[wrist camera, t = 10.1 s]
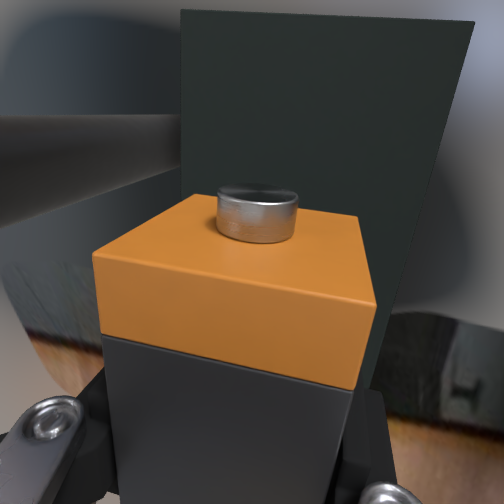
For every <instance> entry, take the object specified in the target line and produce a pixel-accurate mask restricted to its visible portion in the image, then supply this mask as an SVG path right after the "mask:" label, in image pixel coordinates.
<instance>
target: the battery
mask: <svg viewBox="0 0 504 504" xmlns="http://www.w3.org/2000/svg"><path fill="white" fill-rule="evenodd" d="M298 202H299V198H298V195H297V194H296V193H294V192H292V191H290V190H288V189H285V188H282V187H278V186H273V185H266V184H257V183H236V184H229V185H225V186H222V187H220V188H219V190H218V192H217V197H215V196H208V195H201V194H194V195H192V196H190V197H189V198H187V199H185V200H183V201H182V202H180V203H178V204H177V205H175V206H173V207H171V208H169V209H168V210H166V211H164V212H162V213H161V214H159V215H157V216H156V217H154V218H152V219H150V220H149V221H147V222H145V223H144V224H142V225H140V226H138V227H136V228H135V229H133V230H131V231H129V232H128V233H126V234H124V235H122V236H121V237H119V238H117V239H116V240H114V241H112V242H110V243H108V244H107V245H105V246H103V247H102V248H100V249H98V250H96V251H95V252H93V254H92V260H93V268H94V277H95V286H96V294H97V303H98V312H99V320H100V329H101V333H102V336H101V341H102V350H103V358H104V367H105V376H106V384H107V393H108V401H109V410H110V419H111V427H112V436H113V444H114V453H115V462H116V470H117V479H118V487H119V496H120V504H324V503H325V499H326V495H327V491H328V488H329V484H330V480H331V477H332V473H333V469H334V465H335V462H336V458H337V454H338V451H339V447H340V443H341V439H342V436H343V432H344V428H345V425H346V421H347V417H348V413H349V410H350V406H351V402H352V399H353V395H354V388H355V386H356V383H357V379H358V375H359V371H360V368H361V364H362V360H363V357H364V353H365V349H366V345H367V342H368V338H369V334H370V331H371V327H372V323H373V319H374V316H375V312H376V308H377V305H376V300H375V295H374V291H373V286H372V282H371V277H370V272H369V268H368V263H367V259H366V254H365V249H364V245H363V240H362V236H361V231H360V226H359V222H358V217H356V216H350V215H343V214H336V213H329V212H322V211H315V210H308V209H301V208H298Z"/></svg>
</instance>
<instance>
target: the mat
mask: <svg viewBox="0 0 504 504" xmlns="http://www.w3.org/2000/svg"><path fill="white" fill-rule="evenodd" d="M474 25H475V22H474V21H453V20H431V19H430V20H429V19H406V18H383V17H359V16H336V15H312V14H310V15H309V14H288V13H263V12H239V11H216V10H192V9H181V202H182V201H183V200H185V199H187V198H189V197H190V196H192V195H194V194H201V195H208V196H215V197H217V192H218V190H219V188H220V187H222V186H225V185H229V184H236V183H257V184H266V185H273V186H278V187H282V188H285V189H288V190H290V191H292V192H294V193H296V194H297V195H298V198H299V202H298V208H301V209H308V210H315V211H322V212H329V213H336V214H343V215H350V216H356V217H358V222H359V226H360V231H361V236H362V240H363V245H364V249H365V254H366V259H367V263H368V268H369V272H370V277H371V282H372V286H373V291H374V295H375V300H376V305H377V308H376V312H375V316H374V319H373V323H372V327H371V331H370V334H369V338H368V342H367V345H366V349H365V353H364V357H363V360H362V364H361V368H362V378H363V387H364V388H366V389H369V387H370V383H371V380H372V376H373V373H374V370H375V366H376V363H377V359H378V356H379V352H380V349H381V345H382V342H383V339H384V335H385V332H386V328H387V325H388V321H389V318H390V315H391V311H392V307H393V304H394V301H395V297H396V294H397V290H398V287H399V283H400V280H401V277H402V273H403V270H404V266H405V263H406V259H407V255H408V252H409V249H410V246H411V242H412V239H413V235H414V231H415V228H416V225H417V222H418V218H419V214H420V211H421V208H422V204H423V201H424V197H425V194H426V190H427V187H428V184H429V180H430V177H431V173H432V170H433V166H434V162H435V160H436V156H437V152H438V149H439V146H440V142H441V139H442V135H443V132H444V128H445V125H446V122H447V118H448V115H449V111H450V108H451V104H452V101H453V98H454V94H455V90H456V87H457V84H458V80H459V77H460V73H461V70H462V66H463V63H464V59H465V56H466V53H467V49H468V46H469V43H470V39H471V36H472V32H473V29H474Z"/></svg>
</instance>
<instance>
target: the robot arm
mask: <svg viewBox="0 0 504 504" xmlns="http://www.w3.org/2000/svg"><path fill="white" fill-rule="evenodd" d="M107 491H108V492H111V493H114V494H117V495H119V487H118V479H117V470H116V462H115V453H114V444H113V436H112V427H111V419H110V410H109V401H108V393H107V384H106V376H105V367H103V369H102V370H101V371H100V372H99V373H98V374H97V375H96V376H95V377H94V378H93V380H92V381H91V382H90V383H89V384H88V385H87V386H86V387H85V388H84V389H83V390H82V392H81V393H80V394H79V395H78V396H77V397H76V398H75V397H71V396H54V397H51V398H47V399H44V400H42V401H40V402H38V403H36V404H34V405H33V406H32V407H30V408H29V409H27V410H26V411H25V412H24V413H23V414H22V416H21V417H20V418H19V419H18V420H17V422H16V423H15V425H14V426H13V427H12V428H11V430H10V431H9V432H7V433H4V434H1V435H0V504H96V501H97V500H100V499H102V498H103V497H104V496H105V494H106V492H107ZM324 504H422V503H421V501H420V500H419V499H418V498H417V497H415V496H414V495H413V494H412V493H411V492H410V491H408V490H407V489H405V488H403V487H402V486H400V485H398V484H397V478H396V472H395V466H394V460H393V454H392V448H391V442H390V436H389V430H388V424H387V418H386V412H385V406H384V400H383V396H382V393H381V392H380V391H375V390H371V389H366V388H364V387H363V378H362V368H360V371H359V375H358V379H357V383H356V386H355V388H354V395H353V399H352V402H351V406H350V410H349V413H348V417H347V421H346V425H345V428H344V432H343V436H342V439H341V443H340V447H339V451H338V454H337V458H336V462H335V465H334V469H333V473H332V477H331V480H330V484H329V488H328V491H327V495H326V499H325V503H324Z"/></svg>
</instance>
